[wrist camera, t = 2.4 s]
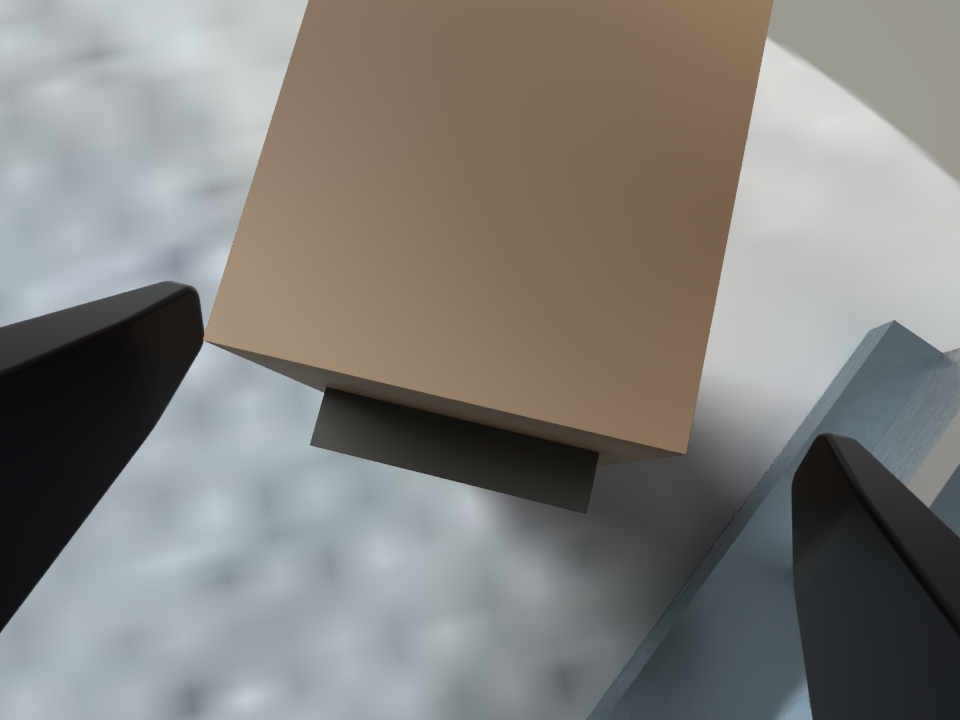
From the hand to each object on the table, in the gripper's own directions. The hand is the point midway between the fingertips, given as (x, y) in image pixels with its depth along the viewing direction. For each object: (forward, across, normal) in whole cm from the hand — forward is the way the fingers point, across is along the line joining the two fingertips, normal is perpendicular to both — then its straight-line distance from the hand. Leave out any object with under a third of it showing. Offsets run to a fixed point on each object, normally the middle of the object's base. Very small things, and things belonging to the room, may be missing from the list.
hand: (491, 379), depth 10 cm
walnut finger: (+7, 0, +6) cm, 9 cm away
